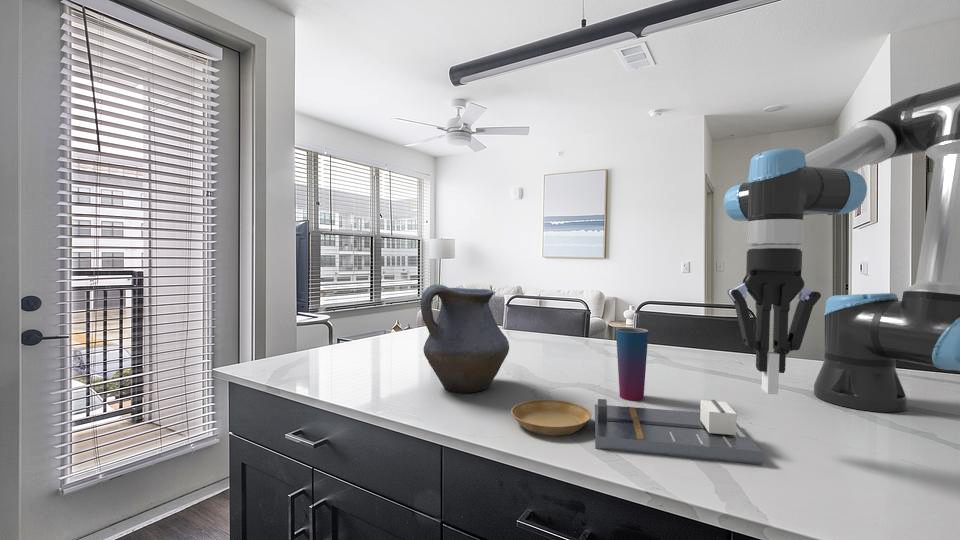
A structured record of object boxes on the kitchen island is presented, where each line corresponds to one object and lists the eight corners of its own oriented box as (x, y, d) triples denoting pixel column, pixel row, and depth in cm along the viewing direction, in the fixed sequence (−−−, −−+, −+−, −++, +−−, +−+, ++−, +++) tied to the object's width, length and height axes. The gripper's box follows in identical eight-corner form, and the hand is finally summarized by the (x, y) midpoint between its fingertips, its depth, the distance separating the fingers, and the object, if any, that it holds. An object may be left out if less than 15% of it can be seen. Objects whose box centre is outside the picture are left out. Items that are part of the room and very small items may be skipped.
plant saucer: (495, 422, 84) (494, 409, 84) (549, 406, 93) (549, 394, 93) (552, 449, 72) (552, 433, 72) (608, 427, 81) (608, 413, 81)
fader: (725, 421, 77) (725, 400, 77) (736, 435, 71) (736, 412, 71) (700, 419, 78) (700, 399, 78) (709, 432, 72) (709, 410, 72)
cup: (650, 403, 94) (651, 332, 94) (617, 401, 95) (617, 331, 95) (645, 393, 101) (645, 327, 100) (614, 391, 102) (614, 327, 102)
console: (729, 425, 81) (729, 398, 81) (761, 464, 66) (762, 431, 66) (594, 414, 87) (594, 389, 87) (595, 448, 72) (595, 417, 72)
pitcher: (527, 390, 103) (527, 283, 102) (446, 408, 91) (445, 287, 90) (478, 372, 120) (477, 280, 119) (404, 385, 108) (403, 282, 107)
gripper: (809, 248, 74) (804, 388, 74) (723, 248, 77) (719, 382, 78) (832, 247, 67) (827, 402, 67) (736, 246, 70) (732, 395, 70)
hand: (769, 391), depth 72 cm, fingers closed
